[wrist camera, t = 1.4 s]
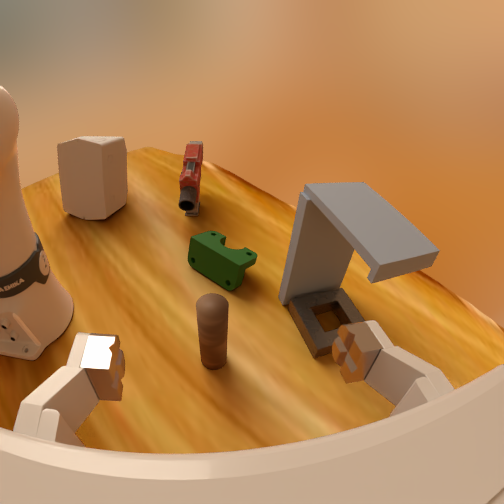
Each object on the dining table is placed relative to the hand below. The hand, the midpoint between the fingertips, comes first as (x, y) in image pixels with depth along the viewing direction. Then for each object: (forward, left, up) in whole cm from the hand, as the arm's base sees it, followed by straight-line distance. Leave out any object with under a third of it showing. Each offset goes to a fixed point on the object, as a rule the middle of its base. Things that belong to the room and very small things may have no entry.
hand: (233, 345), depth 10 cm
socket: (+22, +17, -28) cm, 39 cm away
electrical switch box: (-16, +65, -29) cm, 72 cm away
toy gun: (+7, +56, -29) cm, 63 cm away
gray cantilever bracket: (+22, +17, -28) cm, 39 cm away
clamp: (+9, +34, -29) cm, 45 cm away
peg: (+3, +16, -28) cm, 32 cm away
